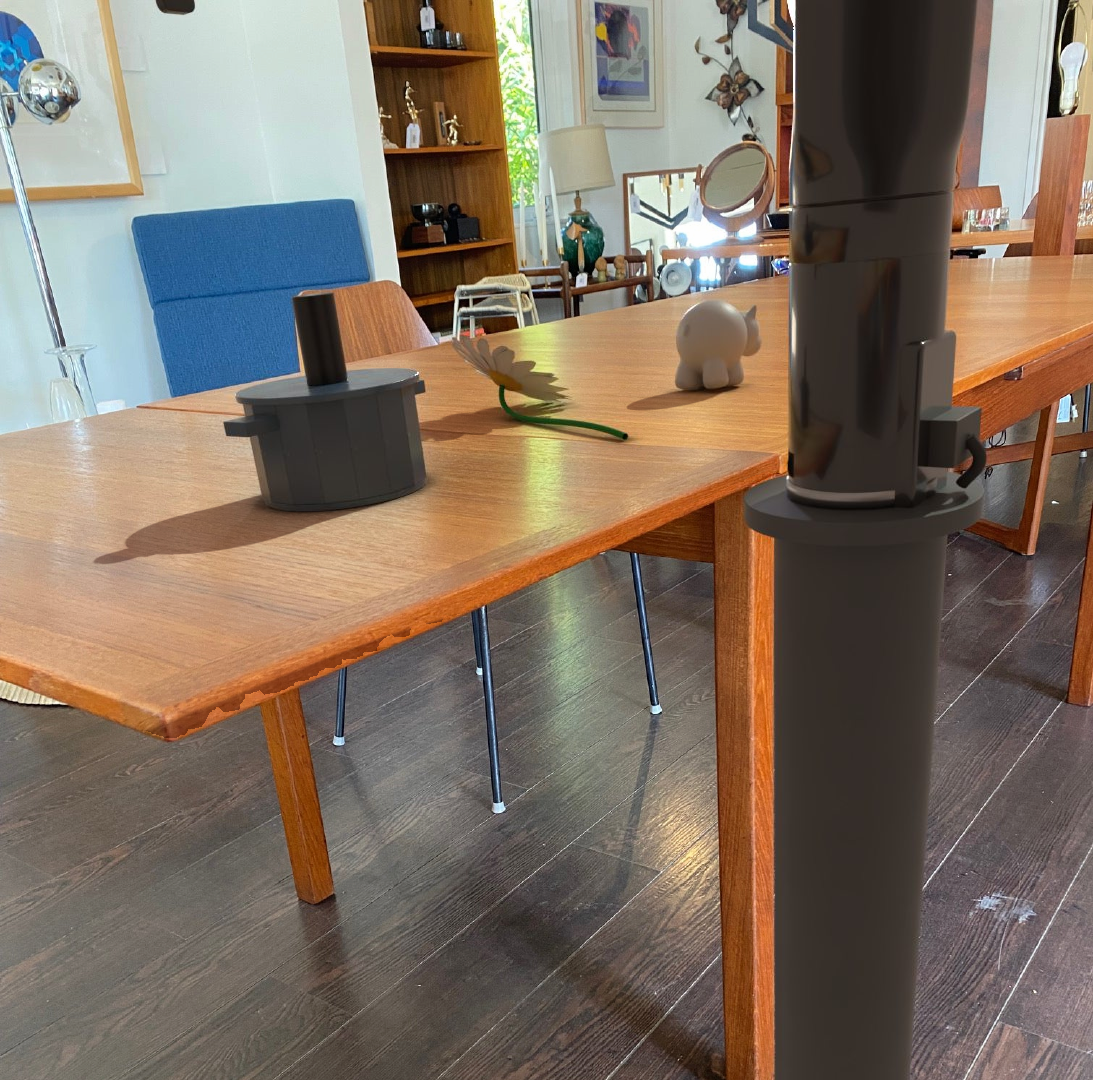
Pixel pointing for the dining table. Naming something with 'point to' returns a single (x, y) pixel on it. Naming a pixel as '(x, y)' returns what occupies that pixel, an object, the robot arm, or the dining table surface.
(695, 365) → the chubby cartoon animal
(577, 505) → the dining table surface
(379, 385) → the lid
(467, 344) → the flower
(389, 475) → the pot
